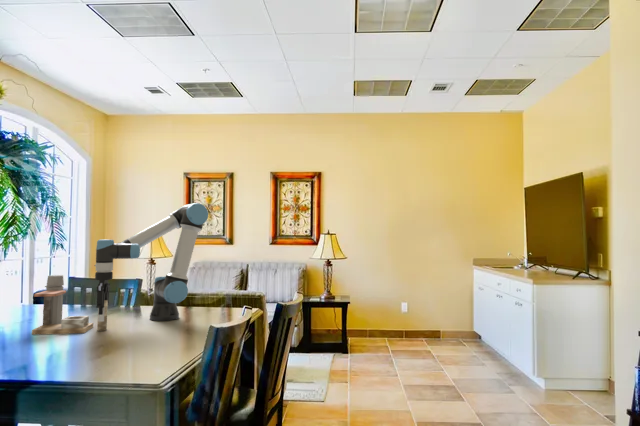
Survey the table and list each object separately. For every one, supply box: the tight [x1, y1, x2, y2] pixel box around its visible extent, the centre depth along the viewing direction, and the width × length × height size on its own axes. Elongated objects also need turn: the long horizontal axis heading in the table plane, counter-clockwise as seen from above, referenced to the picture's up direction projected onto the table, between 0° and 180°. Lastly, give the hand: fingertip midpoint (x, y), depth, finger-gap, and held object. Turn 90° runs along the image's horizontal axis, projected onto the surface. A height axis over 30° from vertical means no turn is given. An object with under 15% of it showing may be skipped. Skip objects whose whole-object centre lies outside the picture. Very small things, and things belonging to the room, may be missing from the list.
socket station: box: [31, 289, 94, 336], centre depth 204 cm, size 22×13×18 cm, turn 102°
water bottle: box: [42, 274, 65, 324], centre depth 213 cm, size 9×8×25 cm
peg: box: [96, 300, 109, 332], centre depth 206 cm, size 4×4×14 cm
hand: (102, 320), depth 206 cm, fingers closed on peg, 4 cm apart
